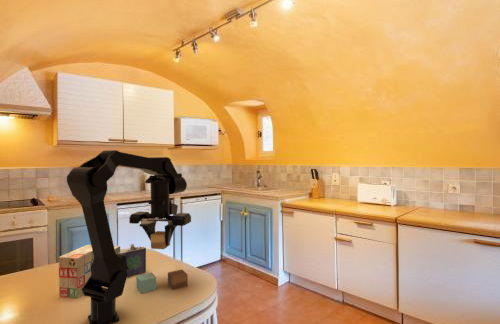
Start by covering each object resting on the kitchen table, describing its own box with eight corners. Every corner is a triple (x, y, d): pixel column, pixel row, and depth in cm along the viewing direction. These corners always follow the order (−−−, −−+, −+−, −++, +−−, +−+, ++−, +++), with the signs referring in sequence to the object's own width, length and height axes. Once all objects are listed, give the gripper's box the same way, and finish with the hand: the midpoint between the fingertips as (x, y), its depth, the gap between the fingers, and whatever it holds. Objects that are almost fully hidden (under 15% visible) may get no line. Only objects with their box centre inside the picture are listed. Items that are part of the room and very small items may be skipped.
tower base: (156, 290, 93) (156, 277, 93) (140, 294, 90) (140, 281, 90) (151, 284, 97) (151, 272, 97) (136, 288, 94) (136, 275, 94)
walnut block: (187, 286, 95) (187, 274, 95) (172, 290, 93) (172, 277, 93) (182, 281, 99) (181, 269, 99) (167, 284, 97) (167, 272, 97)
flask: (120, 279, 100) (120, 248, 100) (117, 277, 102) (117, 246, 102) (147, 272, 106) (147, 242, 106) (143, 270, 109) (143, 241, 108)
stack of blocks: (105, 270, 109) (105, 236, 109) (121, 271, 108) (120, 237, 108) (58, 297, 88) (58, 256, 88) (77, 299, 87) (77, 257, 87)
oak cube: (164, 249, 92) (163, 235, 92) (150, 248, 93) (150, 234, 93) (170, 244, 96) (169, 231, 96) (157, 244, 97) (157, 231, 97)
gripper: (197, 193, 100) (197, 239, 101) (146, 192, 104) (147, 236, 104) (183, 198, 89) (184, 249, 90) (127, 197, 93) (128, 246, 93)
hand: (160, 245), depth 95 cm, fingers closed on oak cube, 4 cm apart
